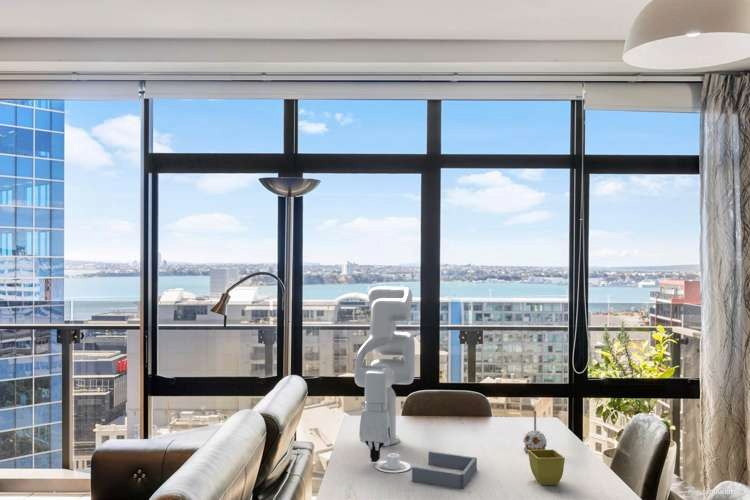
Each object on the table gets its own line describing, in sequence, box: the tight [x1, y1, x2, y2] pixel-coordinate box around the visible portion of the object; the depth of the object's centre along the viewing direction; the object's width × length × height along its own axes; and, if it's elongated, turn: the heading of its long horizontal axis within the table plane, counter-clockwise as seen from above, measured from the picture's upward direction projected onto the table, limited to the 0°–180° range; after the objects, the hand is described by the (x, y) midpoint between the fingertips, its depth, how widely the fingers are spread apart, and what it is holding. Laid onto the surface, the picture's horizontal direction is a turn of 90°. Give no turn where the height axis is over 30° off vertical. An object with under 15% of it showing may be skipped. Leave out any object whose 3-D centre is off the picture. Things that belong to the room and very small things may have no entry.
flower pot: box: [527, 448, 566, 486], centre depth 175 cm, size 9×9×9 cm
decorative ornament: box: [523, 410, 547, 453], centre depth 205 cm, size 8×8×15 cm
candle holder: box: [374, 452, 412, 473], centre depth 187 cm, size 12×12×4 cm
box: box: [411, 450, 478, 490], centre depth 180 cm, size 16×18×4 cm
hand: (375, 460), depth 190 cm, fingers closed
